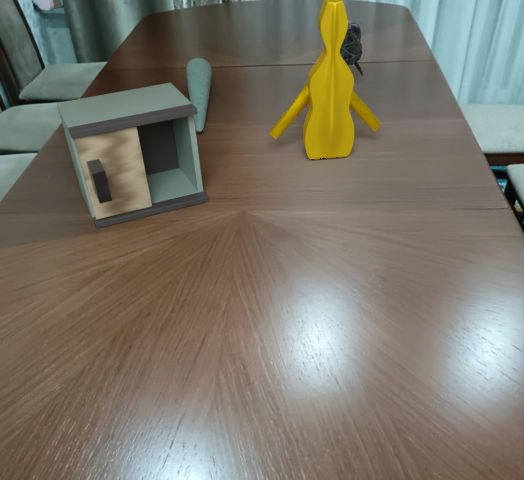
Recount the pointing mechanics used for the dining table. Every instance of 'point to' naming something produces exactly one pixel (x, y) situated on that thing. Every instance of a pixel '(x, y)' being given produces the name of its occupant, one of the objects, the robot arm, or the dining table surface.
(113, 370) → the dining table surface
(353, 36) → the dark grey lumpy shape
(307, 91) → the figure statuette
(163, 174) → the closet
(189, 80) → the mint green cone
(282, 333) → the dining table surface
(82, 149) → the closet door
